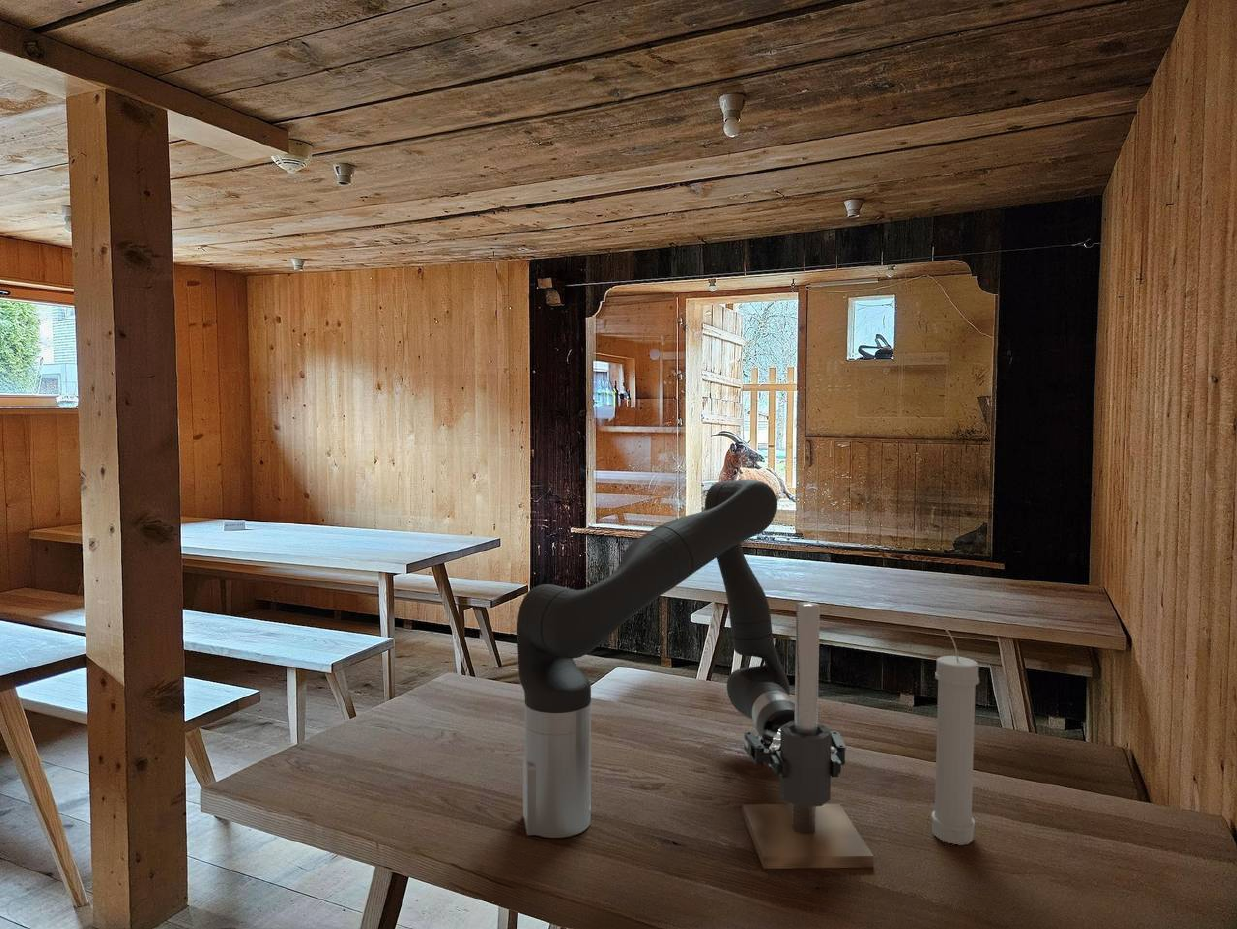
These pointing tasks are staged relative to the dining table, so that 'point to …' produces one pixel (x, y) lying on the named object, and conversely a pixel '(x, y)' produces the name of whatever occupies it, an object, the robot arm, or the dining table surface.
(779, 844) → the post
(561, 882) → the dining table surface
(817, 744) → the collar
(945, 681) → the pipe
